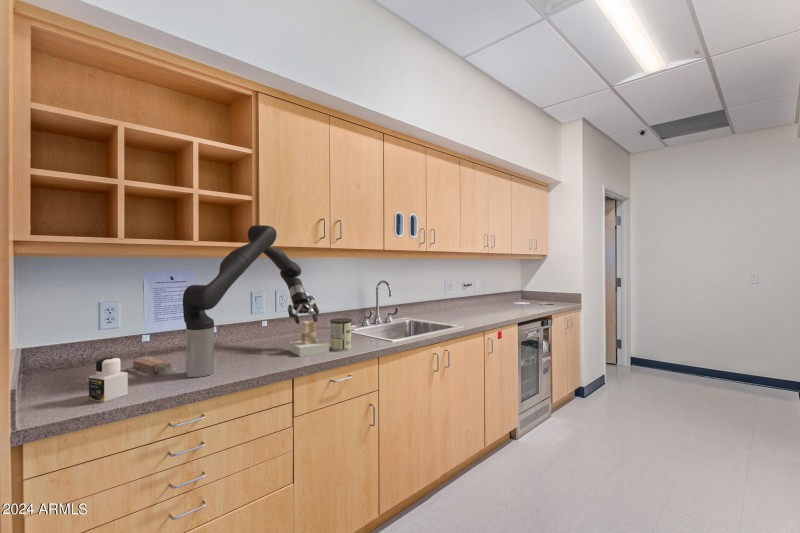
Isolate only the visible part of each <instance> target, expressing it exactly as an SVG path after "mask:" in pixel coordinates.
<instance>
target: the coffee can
mask: <svg viewBox="0 0 800 533" xmlns="http://www.w3.org/2000/svg"><path fill="white" fill-rule="evenodd" d="M352 321H353V320H352V318H345V317H342V318H341V317H340V318H331V319H330V320H329V322H330V324H329V325H330V347H329V350H331V351H333V350H334V351H335V352H345V351H350V350H351V349H352V348H353V346H352ZM334 351H333V352H334Z"/></svg>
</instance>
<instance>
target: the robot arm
mask: <svg viewBox="0 0 800 533" xmlns="http://www.w3.org/2000/svg"><path fill="white" fill-rule="evenodd" d="M277 235H278V233H277V230H276V228H274V227H273V226H272V225H271V226H270V225H264V224H263V225H262V224H259V225H258V224H254V225H251V226H250V227H249V228H248V231H247V239H248V241H249V242H248V243H247V244H244V245H242V246H239V247H237V248H236V249H234V250H233V249H232V251H230V253H228V254H227V255H226V256H225V257H224V259H223V260H222V261H221V262H220V265H219V271H218V274H217V275H216V276H215V277H214V279H212V281H210V282H209V283H207V284H192V285H189V286H187V287H186V288H185V289H184V292H183V294H182V295H183V296H182V311H183V312H182V313H183V321H184V323H185V327H186V328H185V330H186V333H185V334H186V336H185V337H186V339H185V341H186V343H185V344H186V347H185V353H184V354H185V375H186V377H187V378H201V377H208V376H210V375H212V374H214V373H215V321H214V319H213V318H212V317H210V316H209V315H207V312H206V311H208V310H209V311H210V310H212V309H214V308H215V307H216V306H217V305H218V304H219V302H221V300H222V299H223V297H224V296H225V295H226V294H227V292H228V290H229V289H230V288H231V287H232V285H233V284H234V283H235V282H236V281H237V280H238V279H239V278H240V277H241V276H242V275H243V274H244V273H245V272H246V271H247V270H248V269H249V267H250V266H251V265H252V263H255V261H256V260H257V259H258V257H260V256H261V255H262V254H264V255H265V256H266V257H267V258H268V259H270V260H271V261H272V263H273V264H274V265H275V266H276V268H277V269H278V270H280V272H279V275H280V277H281V279H283V281H284V282H285V284H286V286H287V288H288V291H289V295H290V299H291V302H292V305H291V304H288V306H287V313H288V316H289V318H293V319H294V322H295V324H296V325H299V324H300V318H299V314H300V315H301V314H307V315H309V316H311V317H312V321H314V322H316V323H317V322H318V315H319V313H320V310H319V308H318V306H317V304H316V302H314V303H313V304H311V303H310V301H309V298H308V296H307V292H306V290H305V288H304V286H303V283H302V280H301V279H300V278H299V276H300V275H301V274H302V268H301V266H299V264H297V263H296V262H295V261H293V260H291V259H290V258H289V257H288V256H287V254H286V253H285V252H284V251H283V250H281V249H280V248H279V249H278V247H277V248H270V246H271V245H273V244H274V243H275V241H276V239H277ZM293 310H294V311H295V312H293Z"/></svg>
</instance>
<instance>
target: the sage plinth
mask: <svg viewBox="0 0 800 533" xmlns="http://www.w3.org/2000/svg"><path fill="white" fill-rule="evenodd" d="M288 344H289V345H288V350H289V352H291V353H292V354H295V355H296V356H297V357H308V356H314V355H321V354H328V353H330V343H328V342H326V341H323V340H321V339H318V338H316V343H315V344H307V345H305V344H303V343H302V340H298V341H297V340H296V341H289V342H288Z"/></svg>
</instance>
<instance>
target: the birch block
mask: <svg viewBox="0 0 800 533" xmlns="http://www.w3.org/2000/svg"><path fill="white" fill-rule="evenodd" d="M316 339H317V322H314V320H304V321H301V341H302V343H303V344H305V345H307V344H315V343H316Z"/></svg>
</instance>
